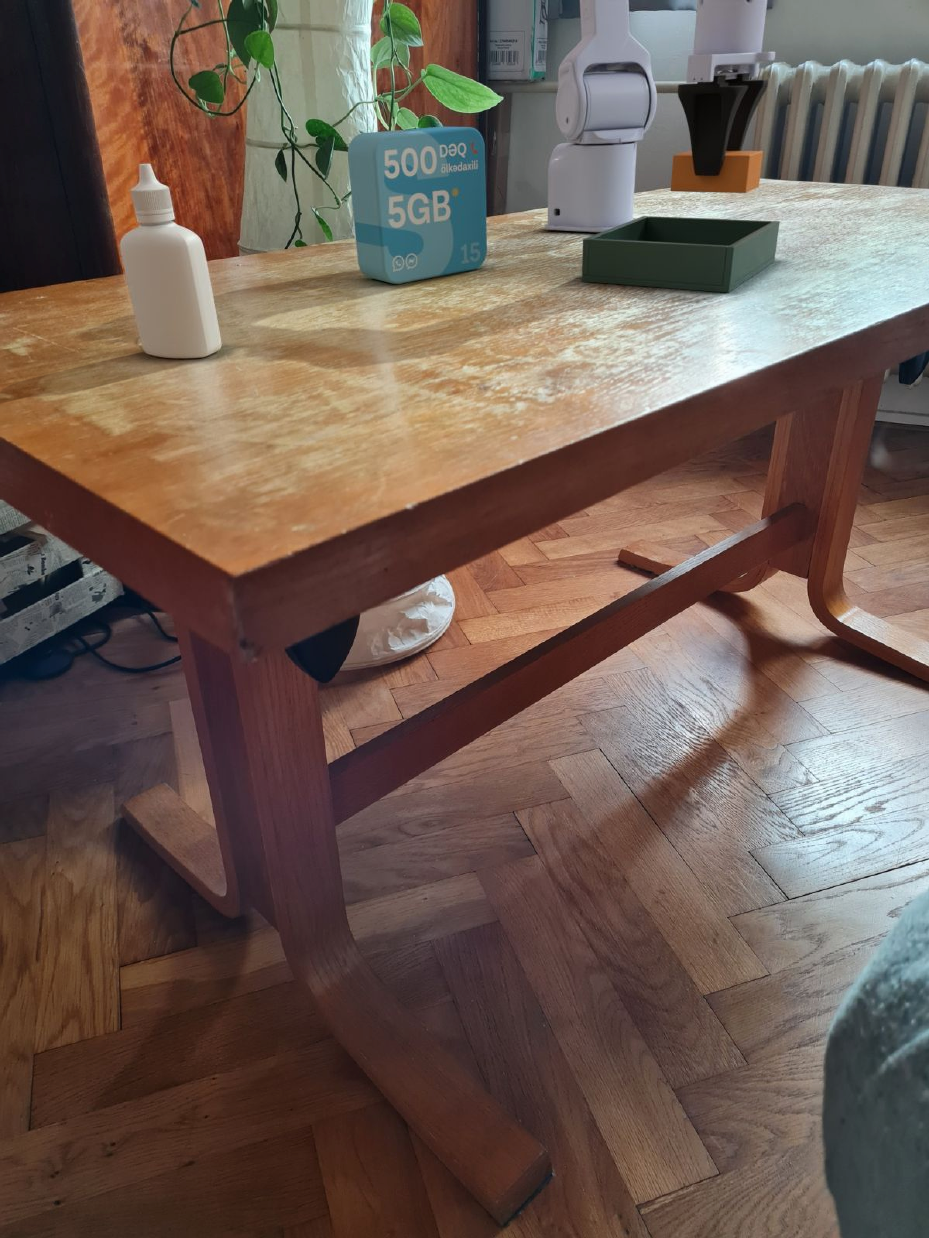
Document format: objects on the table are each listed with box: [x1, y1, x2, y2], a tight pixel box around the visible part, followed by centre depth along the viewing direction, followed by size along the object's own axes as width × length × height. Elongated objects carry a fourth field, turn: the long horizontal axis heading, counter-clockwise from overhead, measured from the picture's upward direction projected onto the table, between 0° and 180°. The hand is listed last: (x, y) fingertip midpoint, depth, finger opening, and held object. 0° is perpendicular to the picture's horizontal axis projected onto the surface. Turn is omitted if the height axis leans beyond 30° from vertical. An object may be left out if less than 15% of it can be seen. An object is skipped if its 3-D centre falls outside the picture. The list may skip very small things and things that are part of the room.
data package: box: [347, 126, 488, 285], centre depth 81 cm, size 12×4×12 cm, turn 128°
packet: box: [670, 150, 764, 194], centre depth 81 cm, size 7×4×3 cm, turn 59°
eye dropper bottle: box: [119, 163, 222, 359], centre depth 60 cm, size 4×6×12 cm
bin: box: [581, 215, 780, 294], centre depth 80 cm, size 13×14×4 cm
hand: (715, 172), depth 81 cm, fingers closed on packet, 4 cm apart
